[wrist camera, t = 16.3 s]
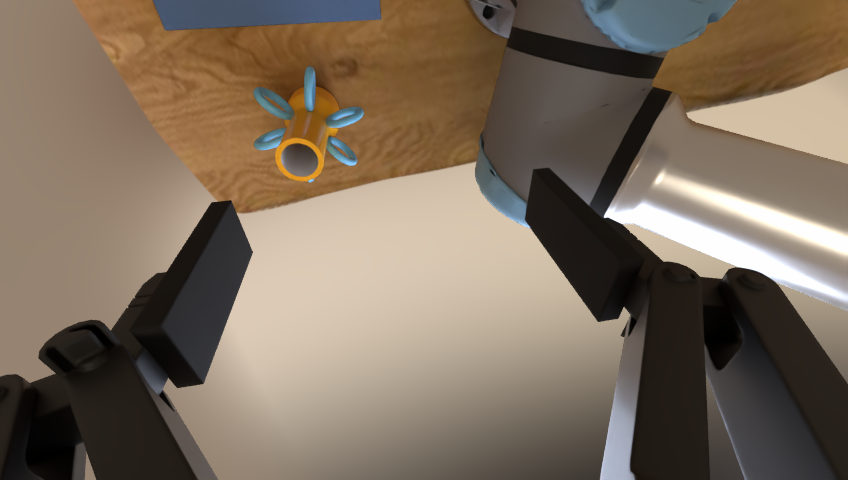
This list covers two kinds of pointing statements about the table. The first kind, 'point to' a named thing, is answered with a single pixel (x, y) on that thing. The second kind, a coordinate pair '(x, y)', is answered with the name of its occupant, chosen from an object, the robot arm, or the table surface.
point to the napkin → (261, 12)
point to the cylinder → (306, 129)
